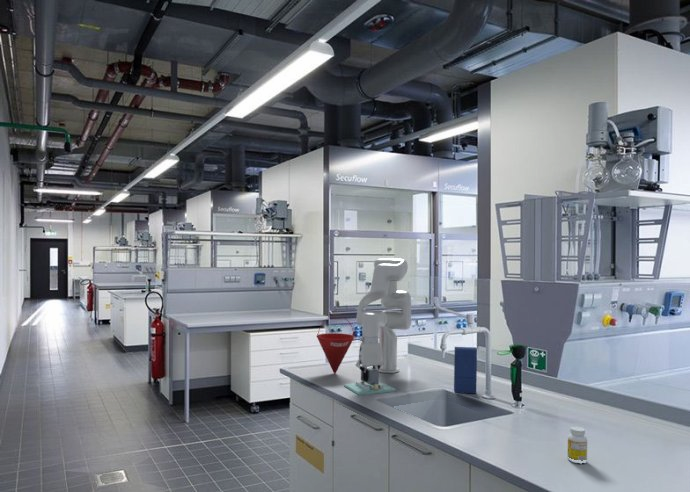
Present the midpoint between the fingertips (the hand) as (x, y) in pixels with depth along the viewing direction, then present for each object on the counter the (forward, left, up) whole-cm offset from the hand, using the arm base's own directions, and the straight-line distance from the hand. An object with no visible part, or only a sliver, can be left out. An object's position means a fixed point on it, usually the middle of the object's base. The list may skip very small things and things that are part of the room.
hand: (369, 380), depth 231 cm
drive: (0, 0, -1) cm, 1 cm away
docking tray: (0, 0, -4) cm, 4 cm away
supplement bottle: (+96, +21, -4) cm, 98 cm away
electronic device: (+20, +38, -4) cm, 43 cm away
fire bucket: (-33, -3, -4) cm, 33 cm away
